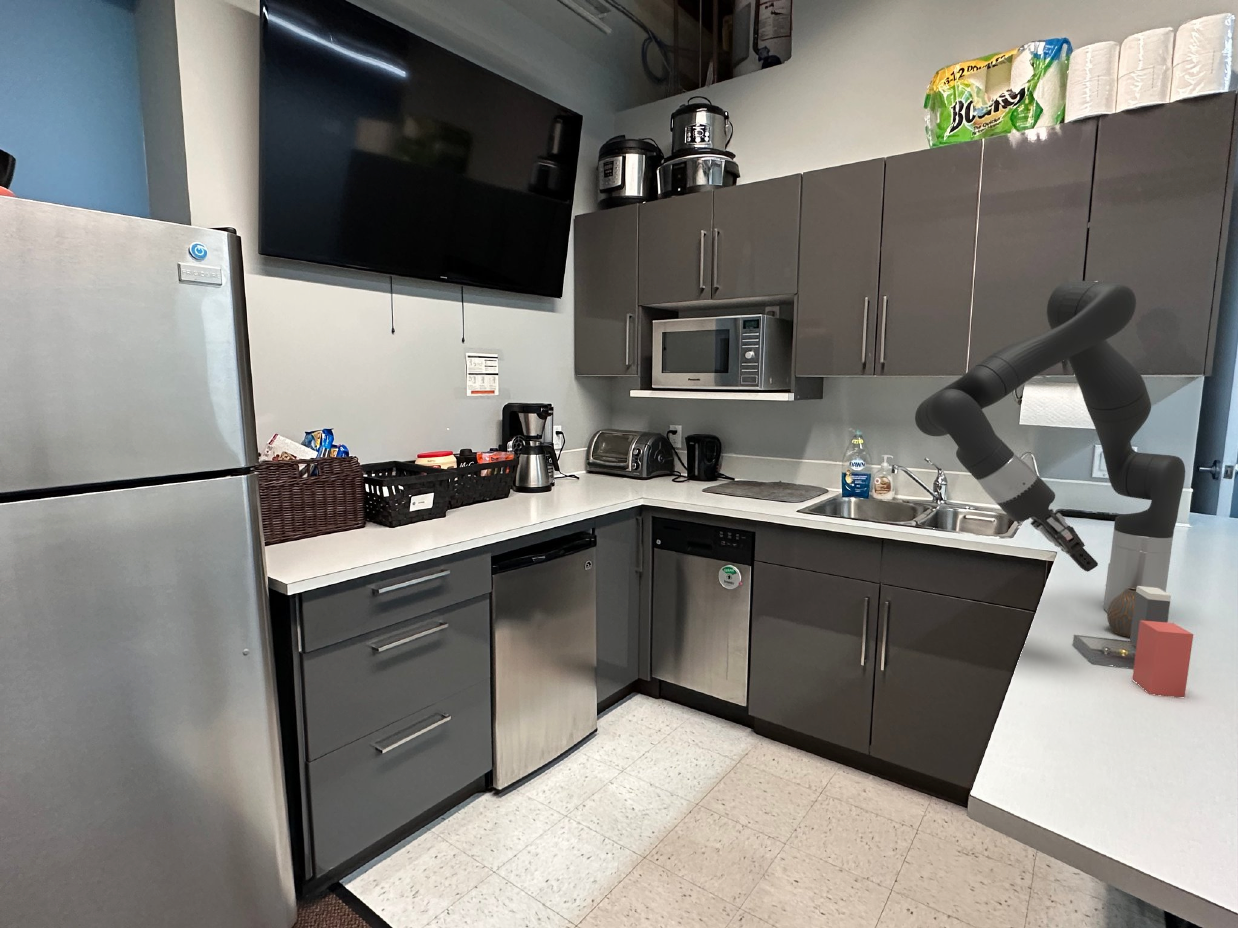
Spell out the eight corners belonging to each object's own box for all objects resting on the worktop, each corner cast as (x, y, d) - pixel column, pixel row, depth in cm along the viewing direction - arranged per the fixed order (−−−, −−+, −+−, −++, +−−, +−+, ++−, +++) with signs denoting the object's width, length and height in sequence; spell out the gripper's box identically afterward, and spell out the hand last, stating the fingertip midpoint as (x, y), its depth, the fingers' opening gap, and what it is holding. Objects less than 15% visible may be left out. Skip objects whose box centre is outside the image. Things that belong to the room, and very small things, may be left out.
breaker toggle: (1141, 651, 103) (1149, 593, 102) (1129, 641, 107) (1136, 585, 106) (1163, 653, 103) (1171, 595, 101) (1150, 644, 106) (1157, 587, 105)
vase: (1130, 627, 121) (1135, 583, 120) (1162, 641, 114) (1168, 595, 113) (1095, 627, 121) (1101, 583, 119) (1125, 641, 114) (1131, 595, 113)
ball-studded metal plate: (1092, 663, 104) (1095, 635, 103) (1072, 645, 112) (1075, 618, 111) (1186, 675, 100) (1190, 645, 100) (1159, 655, 108) (1163, 627, 107)
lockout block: (1132, 680, 98) (1139, 620, 97) (1164, 684, 97) (1173, 622, 96) (1149, 694, 94) (1158, 631, 93) (1184, 698, 93) (1193, 634, 92)
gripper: (1049, 477, 96) (1132, 563, 94) (1021, 468, 108) (1094, 544, 106) (1006, 507, 98) (1087, 593, 96) (984, 495, 111) (1055, 570, 108)
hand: (1091, 567), depth 101 cm, fingers closed
